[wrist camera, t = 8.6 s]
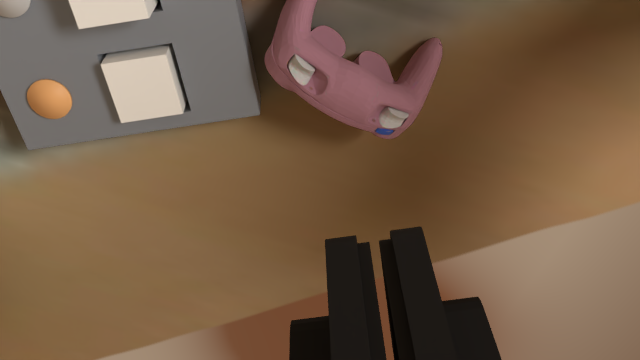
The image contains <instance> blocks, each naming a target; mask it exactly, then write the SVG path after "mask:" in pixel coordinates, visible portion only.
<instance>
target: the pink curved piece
mask: <svg viewBox="0 0 640 360" xmlns="http://www.w3.org/2000/svg"><path fill="white" fill-rule="evenodd" d="M316 2H317V0H286V2H285V5H284V7H283V9H282V11H281V14H280V17H279V20H278V23H277V27H276V30H275V33H274V36H273V40H272V43H271V45H270V46H269V48H268V49H267V51H266V54H265V65H266V68H267V70H268V72H269V74H270V75H271V76H272V78H273V79H274V80H275V81H276V82H277V83H278V84H279V85H280V86H282V87H283V88H285V89H287V90H289V91H293V92H295V93H296V94H298V95H299V96H300V97H301V98H302V99H304V100H305V101H306V102H308V103H309V104H310V105H312V106H313V107H315V108H317V109H318V110H320V111H321V112H323V113H325V114H327V115H328V116H330V117H332V118H334V119H336V120H338V121H340V122H343V123H345V124H347V125H350V126H353V127H355V128H358V129H361V130H365V131H370V132H371V133H373V134H374V135H376V136H378V137H380V138H384V139H393V138H396V137H397V136H399V135H400V134H401V133H402V132H403V131H405V130H406V129H407V128H408V127H409V126H410V125H411V124H412V123H413V122H414V120H415V118H416V117H417V116H418V114H419V112H420V110H421V108H422V106H423V104H424V102H425V100H426V97H427V95H428V93H429V91H430V88H431V86H432V83H433V81H434V78H435V76H436V73H437V71H438V68H439V65H440V62H441V59H442V44H441V42H440V40H439V39H438V38H431V39H429V40H427V41H426V42H425V43H424V44H423V45H421V46H420V47H419V48H418V50H417V51H416V52H415V53H414V54H413V56H412V57H411V59H410V60H409V62H408V63H407V65H406V67H405V68H404V70H403V72H402V73H401V75H400V77H399V79H398V81H394V80H393V77H392V75H391V72H390V69H389V66H388V64H387V62H386V60H385V59H384V58H383V57H382V56H380V55H379V54H377V53H375V52H372V51H364V52H362V53H361V54H360V55H359V56H358V57H357V58H356V59H355V61H354V62H351V61H349V60H347V59H344V58H342V56H343V55H344V53H345V50H346V45H345V42H344V40H343V38H342V37H341V36H340V35H339V33H337V32H336V31H335V30H333V29H332V28H330V27H328V26H318V27H316V28H315V29H314V30H312V31H311V22H312V17H313V12H314V9H315V5H316Z"/></svg>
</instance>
